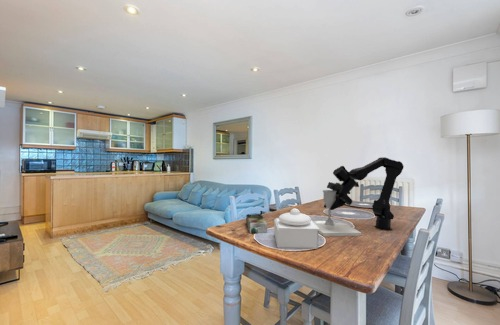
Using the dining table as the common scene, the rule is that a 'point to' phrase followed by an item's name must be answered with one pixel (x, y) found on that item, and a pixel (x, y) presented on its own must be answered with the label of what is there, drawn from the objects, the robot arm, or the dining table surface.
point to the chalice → (329, 204)
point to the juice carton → (256, 223)
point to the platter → (337, 230)
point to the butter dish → (295, 231)
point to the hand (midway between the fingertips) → (327, 208)
